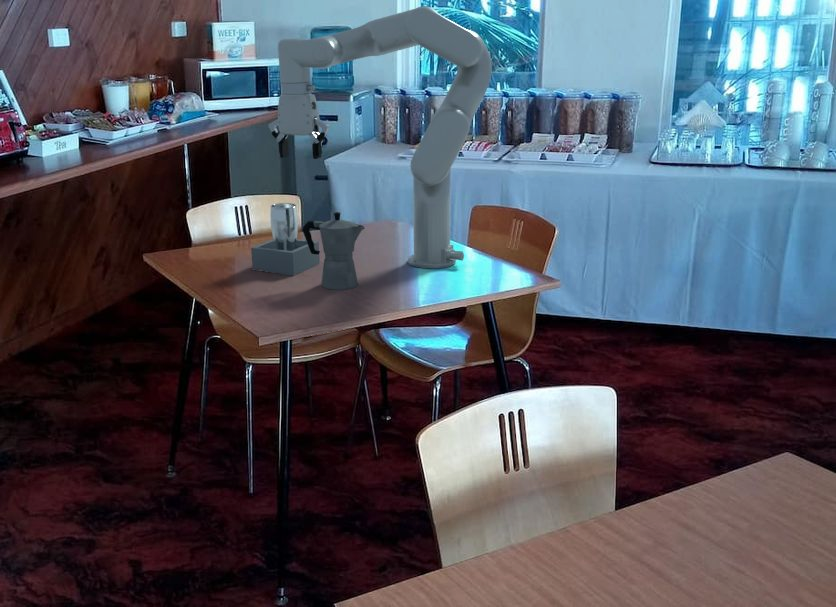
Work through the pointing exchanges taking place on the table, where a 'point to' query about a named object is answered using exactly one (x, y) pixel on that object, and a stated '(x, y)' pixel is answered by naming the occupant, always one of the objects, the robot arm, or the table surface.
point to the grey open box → (284, 258)
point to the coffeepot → (336, 251)
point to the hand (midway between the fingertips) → (300, 157)
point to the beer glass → (284, 225)
